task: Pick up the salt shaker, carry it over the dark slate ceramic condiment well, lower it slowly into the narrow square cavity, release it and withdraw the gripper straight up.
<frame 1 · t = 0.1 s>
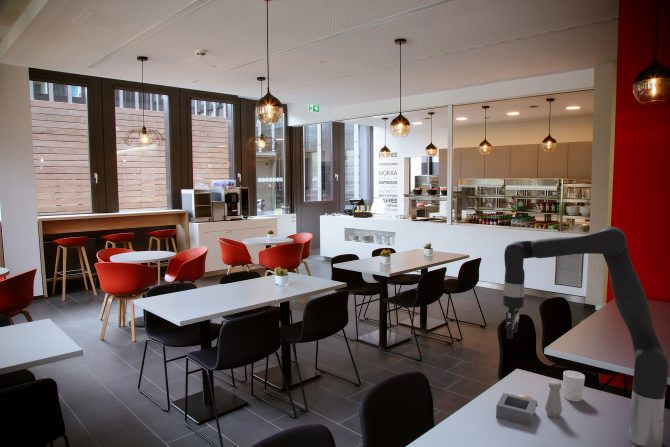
hand: (511, 335, 182), 29 cm above the table, fingers open, 8 cm apart
cork coaster: (525, 401, 190), on the table
white cup: (572, 398, 194), on the table
salt shaker: (553, 415, 179), on the table
well: (515, 415, 179), on the table
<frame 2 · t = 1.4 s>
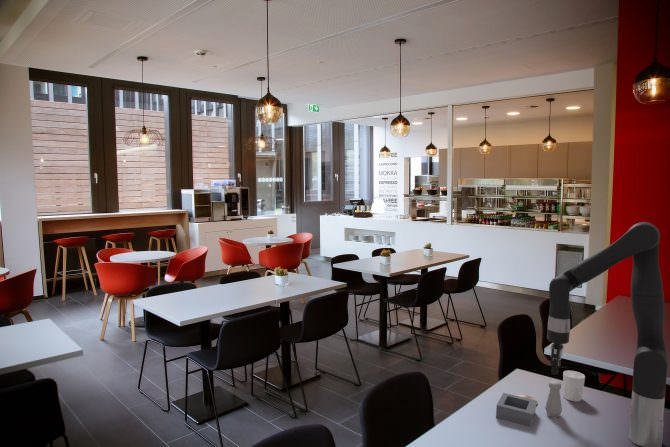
hand: (555, 370, 178), 18 cm above the table, fingers open, 8 cm apart
nothing on the table moved.
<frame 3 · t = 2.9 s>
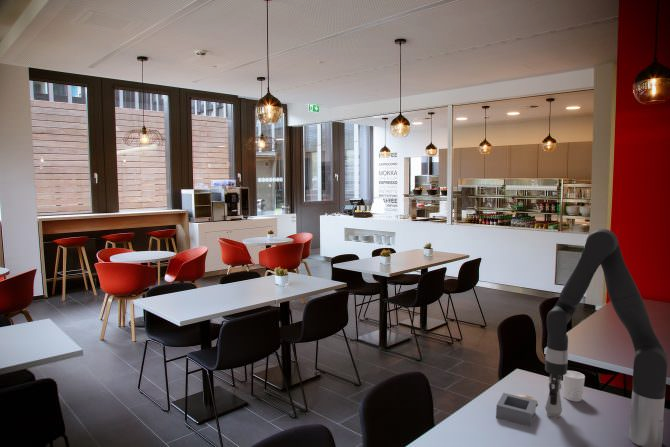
hand: (553, 403, 179), 5 cm above the table, fingers closed on salt shaker, 3 cm apart
salt shaker: (553, 415, 179), on the table, touching gripper
everything else where it was.
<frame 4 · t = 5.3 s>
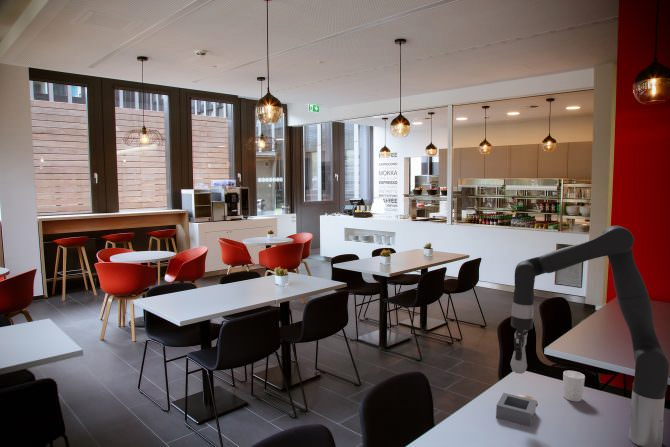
hand: (519, 359, 177), 22 cm above the table, fingers closed on salt shaker, 3 cm apart
salt shaker: (518, 372, 177), point 17 cm above the table, touching gripper
everything else where it was.
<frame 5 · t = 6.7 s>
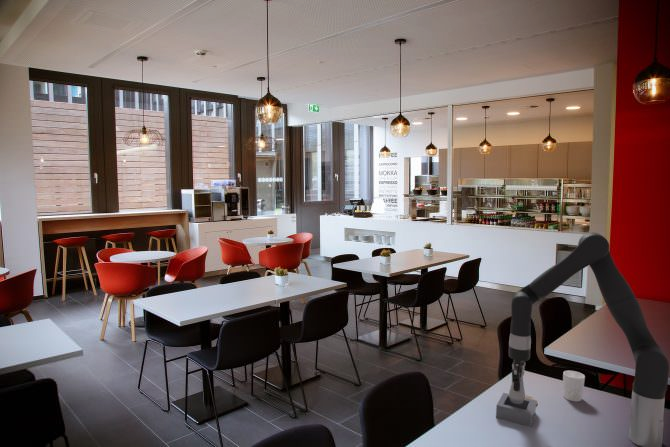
hand: (517, 389, 178), 10 cm above the table, fingers closed on salt shaker, 3 cm apart
salt shaker: (516, 402, 178), point 5 cm above the table, touching gripper
everything else where it was.
when the fingers open (7 cm above the table, at t = 7.6 s): salt shaker drops 1 cm, resting on well.
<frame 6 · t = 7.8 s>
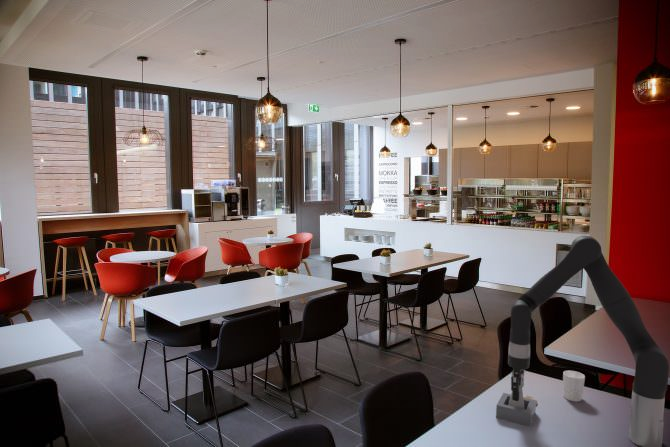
hand: (516, 397, 178), 7 cm above the table, fingers open, 4 cm apart
salt shaker: (516, 413, 179), point 1 cm above the table, touching well
everything else where it was.
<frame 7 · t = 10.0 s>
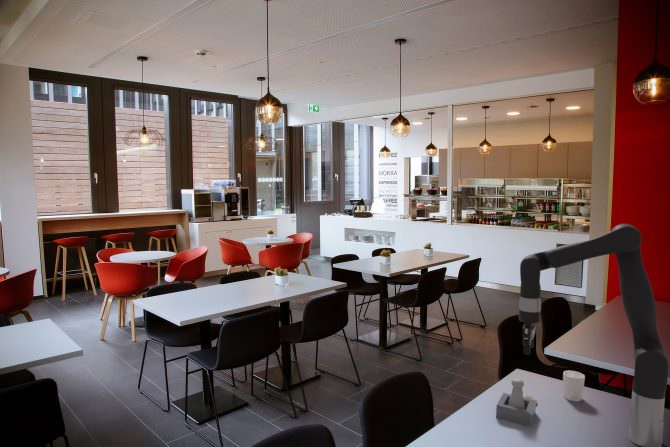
hand: (528, 350, 177), 25 cm above the table, fingers open, 8 cm apart
nothing on the table moved.
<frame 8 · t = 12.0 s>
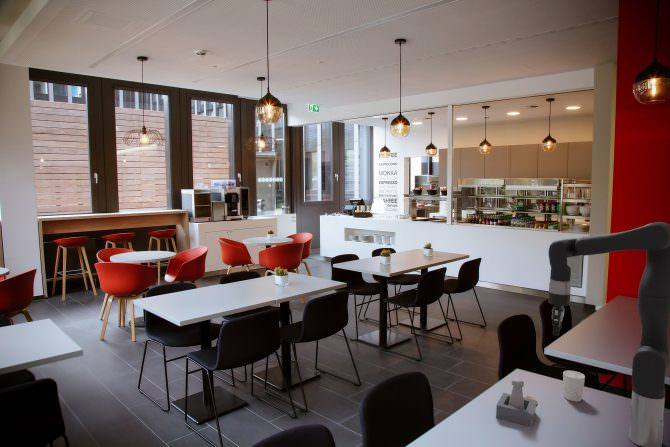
hand: (557, 332, 183), 30 cm above the table, fingers open, 8 cm apart
nothing on the table moved.
at the end: salt shaker 0.0 cm off-centre on the well, point 0.8 cm above the well's base; salt shaker tilted 0°; the gripper is holding nothing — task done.
